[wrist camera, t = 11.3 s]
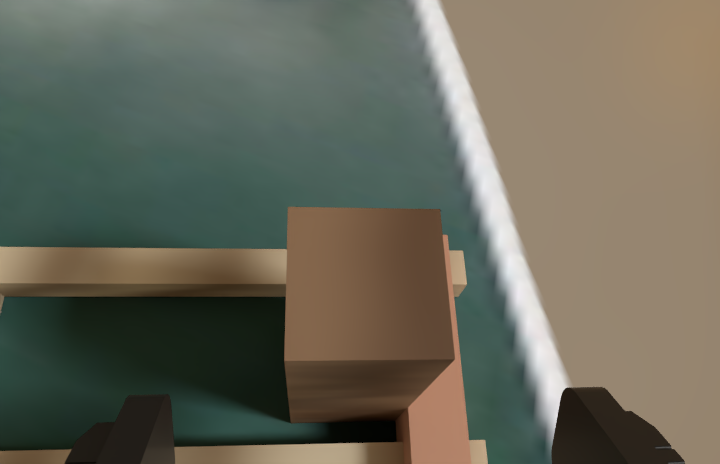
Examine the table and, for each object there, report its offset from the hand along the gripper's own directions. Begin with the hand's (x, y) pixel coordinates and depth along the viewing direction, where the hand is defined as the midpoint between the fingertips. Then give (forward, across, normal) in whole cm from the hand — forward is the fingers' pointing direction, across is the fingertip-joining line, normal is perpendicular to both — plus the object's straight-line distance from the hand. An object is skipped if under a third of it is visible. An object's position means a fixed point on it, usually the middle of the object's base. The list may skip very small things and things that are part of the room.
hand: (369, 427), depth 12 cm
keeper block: (+10, 0, +5) cm, 12 cm away
